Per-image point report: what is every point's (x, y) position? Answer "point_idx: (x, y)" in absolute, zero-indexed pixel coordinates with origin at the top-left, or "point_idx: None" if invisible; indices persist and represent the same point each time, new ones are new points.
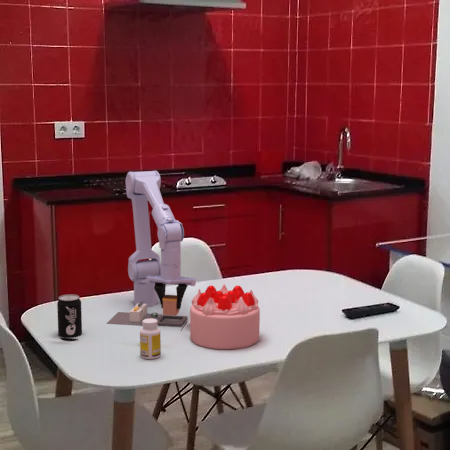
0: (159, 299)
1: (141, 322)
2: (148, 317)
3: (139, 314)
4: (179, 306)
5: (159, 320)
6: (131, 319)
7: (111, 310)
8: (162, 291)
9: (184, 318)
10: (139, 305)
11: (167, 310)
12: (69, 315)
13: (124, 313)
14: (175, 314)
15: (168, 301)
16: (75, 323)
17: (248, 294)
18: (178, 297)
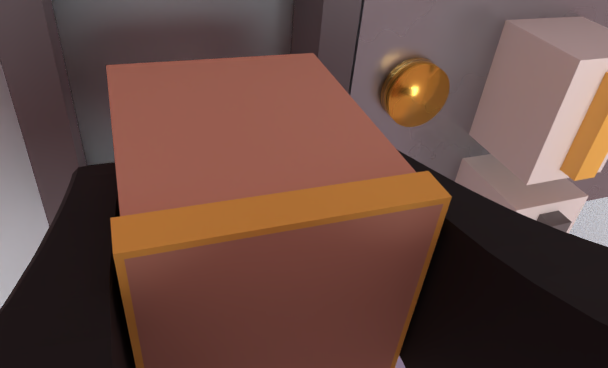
0: (478, 196)
1: (490, 2)
2: (426, 155)
3: (556, 53)
4: (66, 199)
5: (326, 35)
6: (582, 22)
7: (601, 243)
8: (546, 340)
9: (51, 183)
10: (555, 220)
11: (265, 88)
12: None
13: (579, 182)
14: (117, 71)
15: (301, 184)
16: None
17: None
18: (63, 322)
